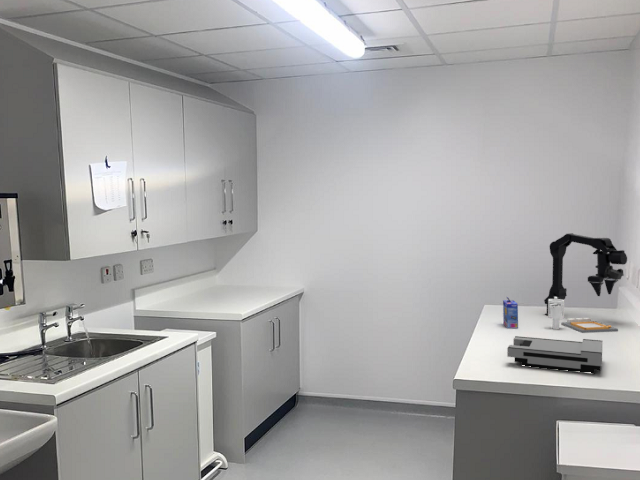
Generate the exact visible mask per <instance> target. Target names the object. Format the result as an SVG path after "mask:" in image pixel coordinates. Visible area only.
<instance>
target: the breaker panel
mask: <svg viewBox="0 0 640 480" xmlns="http://www.w3.org/2000/svg"><path fill="white" fill-rule="evenodd" d="M591 319H592V318H590V317H578V318H577V317H576V318H566V322H565V321H564V322H561V325H562V326H564V327H566V328H569V329H572V330H574V331H577V332H580V333H584V334H585V333H604V332H606V333H607V332H619V328H616V327H613V326H612V325H608V324H607V323H602V322H601V321H596V320H594V321H593V320H591Z"/></svg>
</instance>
